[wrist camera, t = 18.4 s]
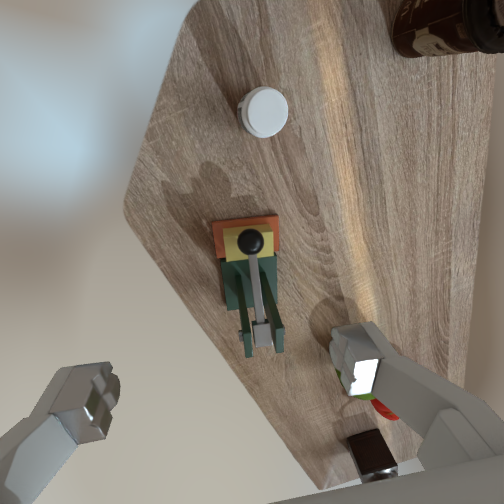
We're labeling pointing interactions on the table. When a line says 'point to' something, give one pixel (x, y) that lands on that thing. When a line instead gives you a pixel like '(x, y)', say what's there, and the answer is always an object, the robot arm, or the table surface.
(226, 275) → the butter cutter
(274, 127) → the pill bottle
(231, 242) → the butter
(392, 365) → the robot arm
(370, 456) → the coffee grinder
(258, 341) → the blade lever
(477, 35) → the coffee cup
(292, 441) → the table surface
